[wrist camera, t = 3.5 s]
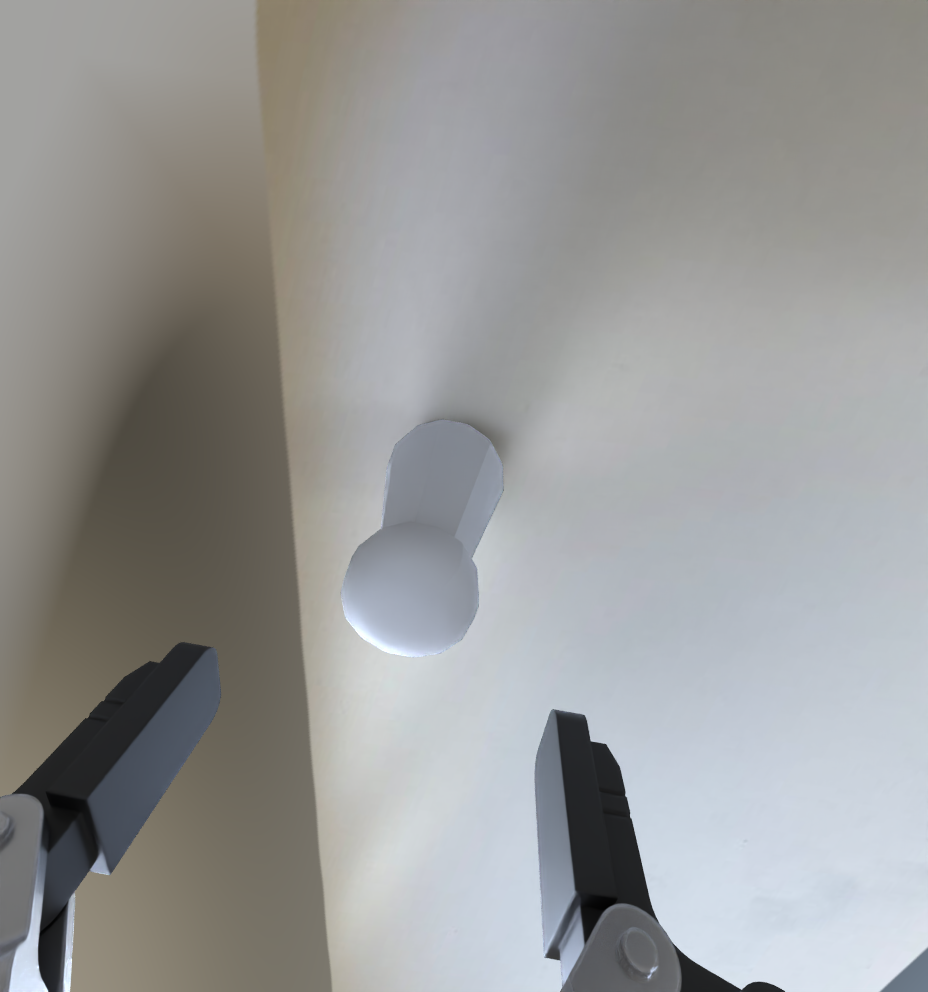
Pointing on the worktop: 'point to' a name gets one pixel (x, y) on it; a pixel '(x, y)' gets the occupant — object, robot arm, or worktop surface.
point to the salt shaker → (425, 542)
